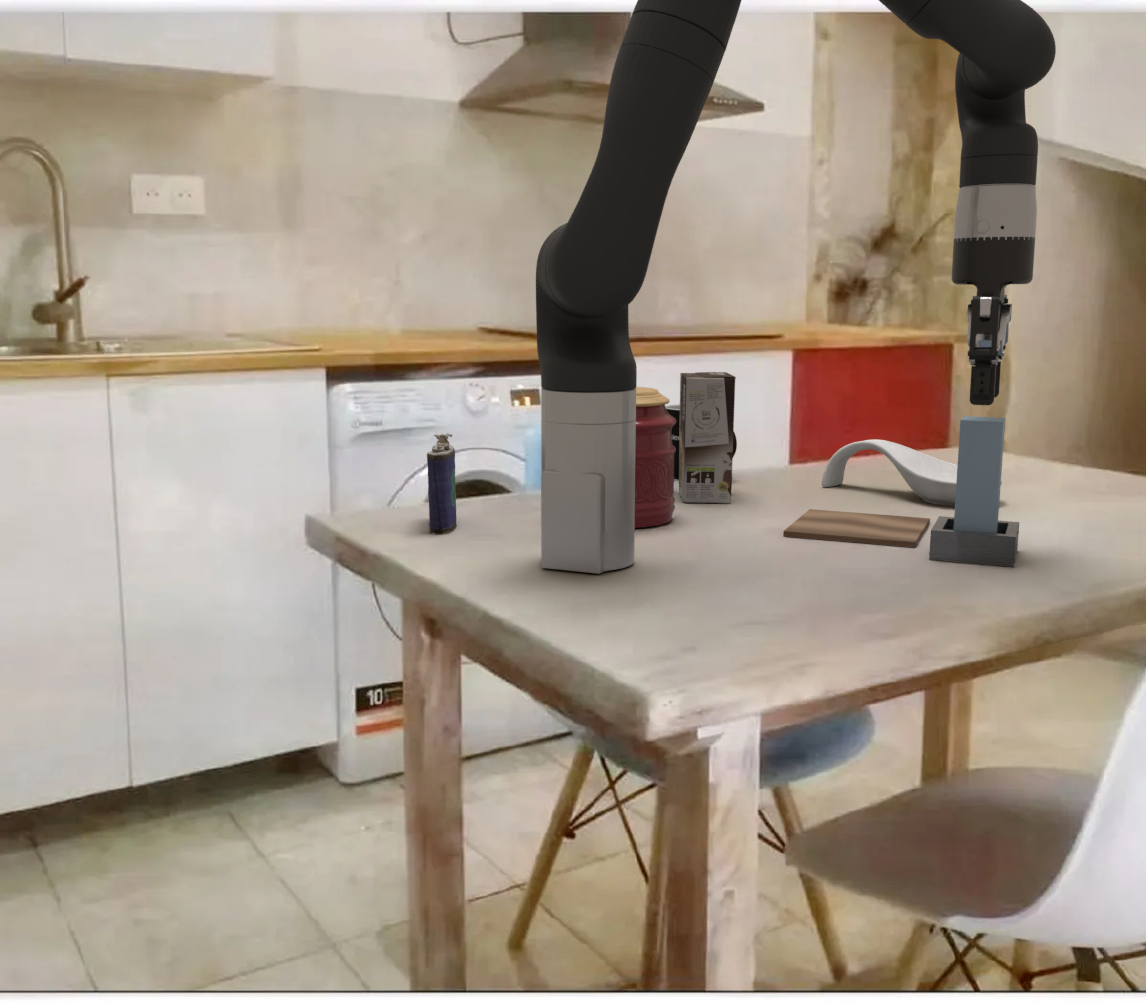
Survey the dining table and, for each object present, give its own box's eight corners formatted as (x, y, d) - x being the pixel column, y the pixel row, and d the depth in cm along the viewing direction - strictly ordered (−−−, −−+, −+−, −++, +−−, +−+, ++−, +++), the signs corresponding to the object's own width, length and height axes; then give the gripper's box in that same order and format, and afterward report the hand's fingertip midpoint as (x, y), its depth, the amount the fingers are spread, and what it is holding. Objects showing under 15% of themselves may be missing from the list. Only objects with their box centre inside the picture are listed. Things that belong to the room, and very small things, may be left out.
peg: (993, 560, 116) (1003, 422, 114) (951, 557, 118) (960, 420, 115) (995, 552, 120) (1005, 417, 117) (955, 549, 121) (963, 416, 119)
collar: (1013, 566, 114) (1015, 537, 113) (928, 559, 117) (930, 530, 116) (1017, 550, 121) (1019, 522, 120) (937, 543, 124) (939, 516, 123)
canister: (544, 523, 134) (544, 370, 131) (595, 505, 146) (596, 364, 142) (647, 534, 128) (649, 374, 125) (691, 514, 140) (694, 367, 136)
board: (914, 547, 122) (915, 542, 122) (783, 536, 127) (783, 531, 127) (929, 523, 135) (930, 518, 135) (809, 514, 140) (809, 509, 140)
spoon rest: (1014, 502, 150) (1018, 447, 148) (977, 515, 141) (981, 457, 140) (848, 482, 165) (850, 432, 164) (806, 493, 156) (808, 440, 155)
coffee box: (733, 503, 147) (736, 376, 144) (682, 503, 147) (684, 375, 144) (725, 491, 156) (728, 370, 153) (677, 491, 156) (679, 370, 153)
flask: (434, 518, 137) (433, 428, 135) (459, 518, 137) (458, 428, 135) (427, 534, 128) (425, 438, 126) (453, 534, 128) (452, 438, 126)
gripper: (1033, 231, 105) (1021, 409, 108) (1037, 236, 118) (1027, 395, 121) (946, 233, 108) (938, 406, 111) (960, 238, 121) (952, 393, 124)
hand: (984, 400), depth 116 cm, fingers open, 8 cm apart
